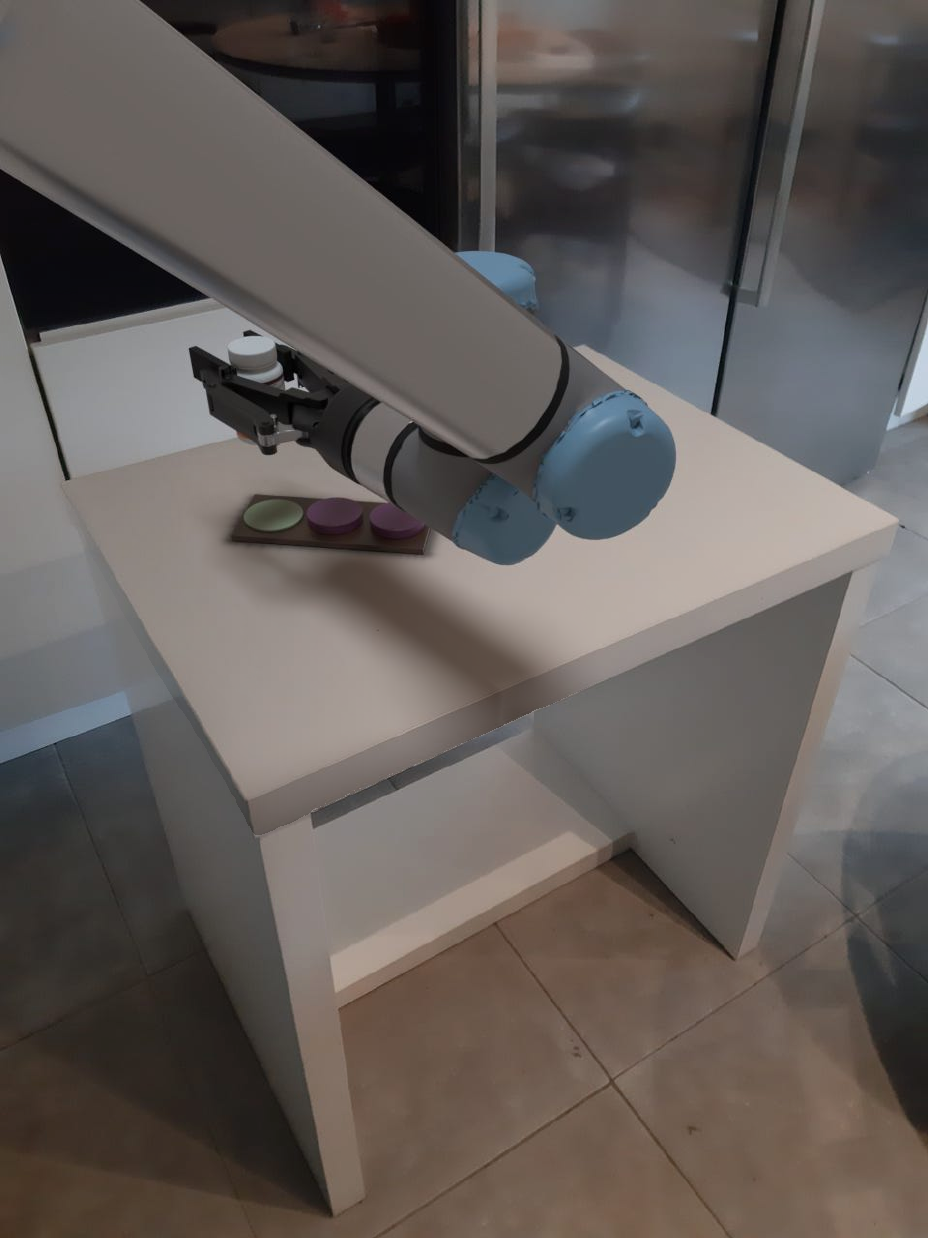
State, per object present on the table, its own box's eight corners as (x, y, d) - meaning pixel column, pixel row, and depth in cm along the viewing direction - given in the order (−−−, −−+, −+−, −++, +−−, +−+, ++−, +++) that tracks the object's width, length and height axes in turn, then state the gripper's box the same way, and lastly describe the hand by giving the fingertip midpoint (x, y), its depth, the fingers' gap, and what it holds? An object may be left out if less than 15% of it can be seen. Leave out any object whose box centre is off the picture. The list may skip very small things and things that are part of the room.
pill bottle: (230, 429, 89) (215, 339, 84) (280, 418, 90) (269, 330, 85) (246, 451, 85) (231, 359, 80) (298, 439, 87) (287, 348, 82)
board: (231, 540, 91) (229, 526, 90) (255, 499, 97) (253, 485, 96) (423, 554, 89) (422, 539, 88) (435, 511, 95) (435, 496, 94)
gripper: (293, 528, 71) (139, 422, 85) (472, 449, 81) (308, 365, 94) (281, 434, 67) (120, 338, 80) (473, 363, 76) (300, 287, 90)
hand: (222, 353), depth 87 cm, fingers closed on pill bottle, 5 cm apart
